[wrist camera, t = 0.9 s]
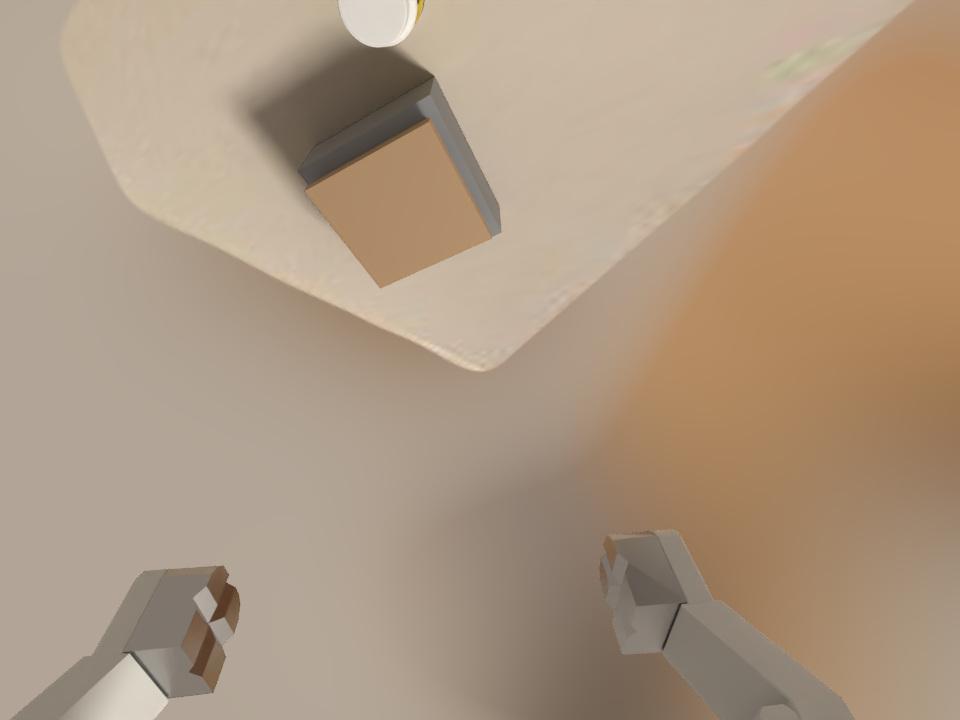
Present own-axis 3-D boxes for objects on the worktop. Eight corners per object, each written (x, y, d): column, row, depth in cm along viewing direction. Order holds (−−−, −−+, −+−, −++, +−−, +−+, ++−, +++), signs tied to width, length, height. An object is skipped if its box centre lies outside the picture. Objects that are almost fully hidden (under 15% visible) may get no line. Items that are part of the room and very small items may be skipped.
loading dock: (434, 76, 37) (427, 104, 32) (499, 205, 45) (502, 245, 39) (313, 147, 41) (290, 182, 36) (392, 256, 48) (382, 298, 43)
